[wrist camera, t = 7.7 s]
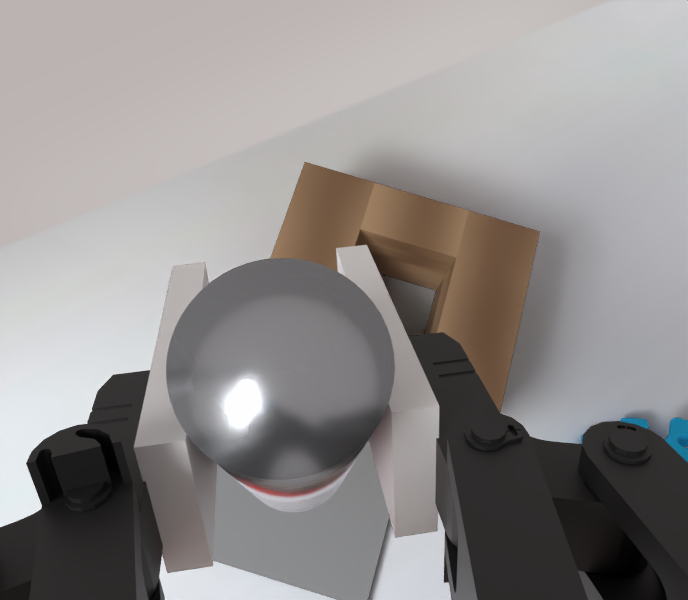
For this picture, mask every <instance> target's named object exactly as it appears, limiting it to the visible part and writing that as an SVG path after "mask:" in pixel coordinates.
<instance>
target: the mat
mask: <svg viewBox="0 0 688 600" xmlns="http://www.w3.org/2000/svg"><path fill="white" fill-rule="evenodd" d="M388 520H389V513H388V510H387V506H386V502H385V498H384V495H383V491H382V487H381V484H380V480H379V476H378V473H377V469H376V465H375V461H374V458H373V454H372V450H371V447H370V443H369V440H368V442H367V444H366V445H365V447H364V448H363V450H362V452H361V453H360V455H359V456H358V458H357V460H356V461H355V463H354V464H353V466H352V468H351V469H350V471H349V472H348V474H347V476H346V477H345V479H344V480H343V482H342V484H341V485H340V487H339V488H338V490H337V491H336V492H335V493H334V494H333V496H332V497H331V498H330V499H328V500H327V501H326V502H325V503H323V504H321V505H320V506H318V507H316V508H314V509H311V510H308V511H303V512H283V511H280V510H276V509H274V508H271V507H269V506H268V505H266V504H264V503H263V502H262V501H260V500H259V499H258V498H257V497H256V496H254V495H253V494H252V493H251V492H250V491H248V490H247V489H246V488H245V487H244V486H242V485H241V484H240V483H239V482H238V481H237V480H235V479H234V478H233V477H232V476H231V475H229V474H228V473H227V472H226V471H225V470H224V469H222V468H221V467H220V466H219V465H218V464H217V477H216V501H215V524H214V547H213V561H216V562H220V563H223V564H226V565H229V566H232V567H235V568H239V569H242V570H245V571H248V572H251V573H254V574H258V575H261V576H264V577H267V578H270V579H273V580H277V581H280V582H283V583H286V584H289V585H292V586H296V587H299V588H302V589H305V590H308V591H311V592H315V593H318V594H321V595H324V596H327V597H330V598H334V599H337V600H368V597H369V593H370V589H371V586H372V582H373V578H374V574H375V570H376V566H377V562H378V559H379V555H380V551H381V547H382V543H383V539H384V536H385V532H386V528H387V524H388Z"/></svg>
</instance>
